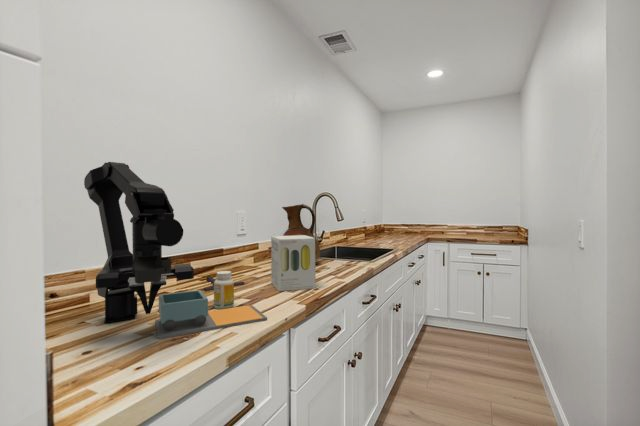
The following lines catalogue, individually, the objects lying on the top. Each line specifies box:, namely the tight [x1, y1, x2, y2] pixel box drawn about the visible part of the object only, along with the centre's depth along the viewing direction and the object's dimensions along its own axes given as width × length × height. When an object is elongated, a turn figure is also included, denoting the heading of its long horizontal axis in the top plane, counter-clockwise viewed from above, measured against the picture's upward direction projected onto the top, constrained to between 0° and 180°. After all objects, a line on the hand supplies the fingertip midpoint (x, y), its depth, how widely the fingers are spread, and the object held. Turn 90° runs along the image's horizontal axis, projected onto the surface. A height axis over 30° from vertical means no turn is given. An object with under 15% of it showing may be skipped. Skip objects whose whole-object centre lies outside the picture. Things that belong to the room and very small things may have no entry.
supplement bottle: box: [213, 270, 235, 310], centre depth 92 cm, size 5×5×10 cm
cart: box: [158, 289, 209, 331], centre depth 76 cm, size 10×10×6 cm
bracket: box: [203, 275, 245, 292], centre depth 119 cm, size 14×15×3 cm
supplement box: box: [270, 235, 316, 292], centre depth 116 cm, size 13×13×18 cm
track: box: [154, 304, 268, 340], centre depth 80 cm, size 24×12×1 cm, turn 119°
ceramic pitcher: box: [281, 203, 321, 262], centre depth 162 cm, size 20×20×30 cm
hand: (148, 313), depth 73 cm, fingers closed
